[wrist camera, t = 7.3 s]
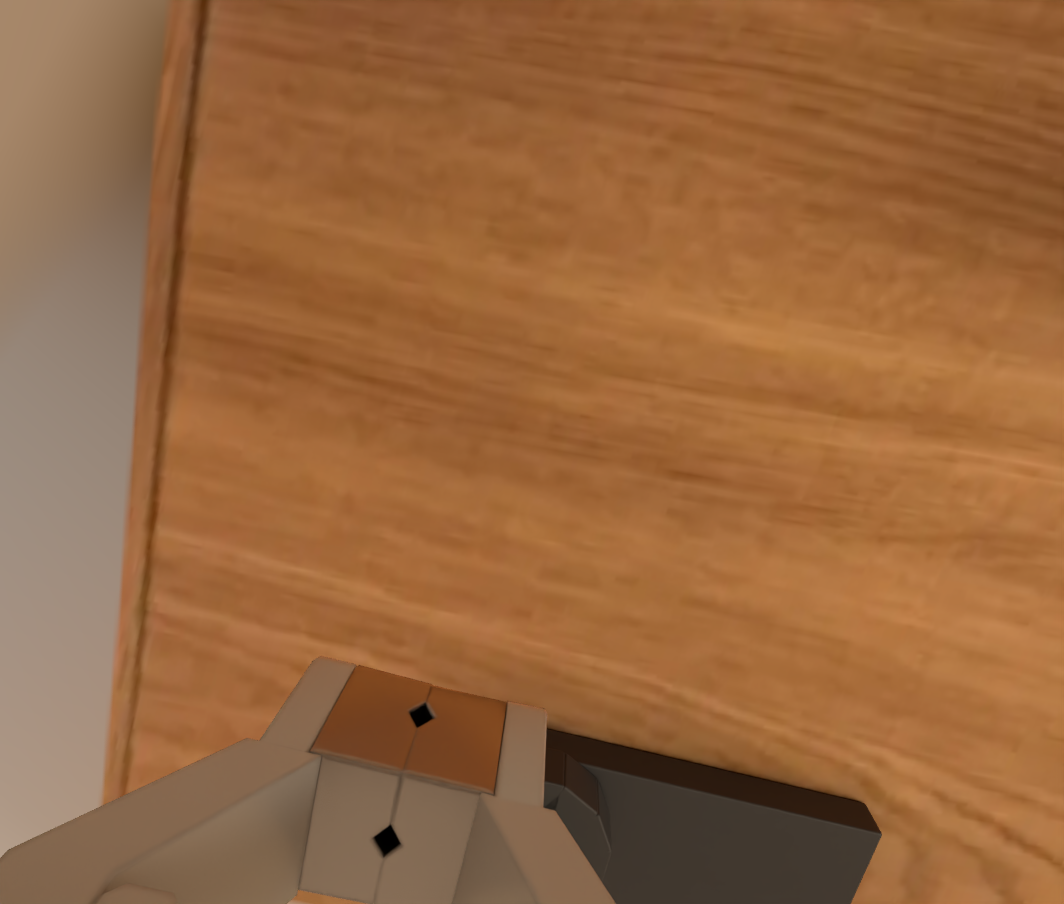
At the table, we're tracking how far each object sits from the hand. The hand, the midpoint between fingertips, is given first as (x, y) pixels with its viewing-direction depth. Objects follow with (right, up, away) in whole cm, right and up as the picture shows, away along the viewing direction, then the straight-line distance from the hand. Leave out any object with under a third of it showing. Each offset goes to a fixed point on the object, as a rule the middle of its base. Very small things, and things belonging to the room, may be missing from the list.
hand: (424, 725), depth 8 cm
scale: (+5, -12, +16) cm, 21 cm away
